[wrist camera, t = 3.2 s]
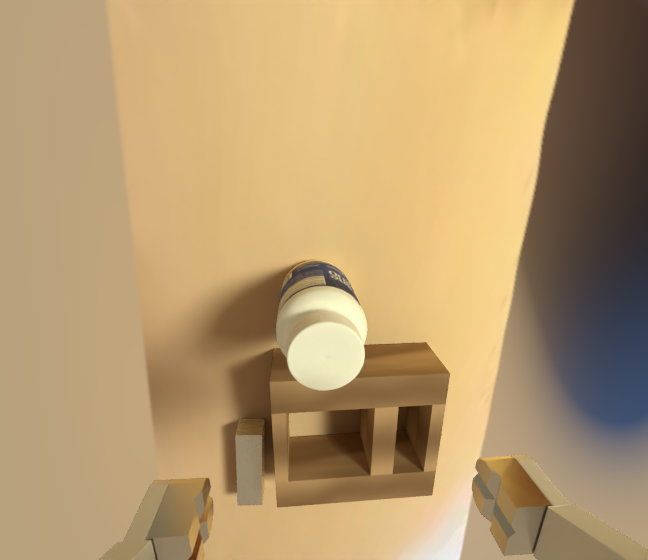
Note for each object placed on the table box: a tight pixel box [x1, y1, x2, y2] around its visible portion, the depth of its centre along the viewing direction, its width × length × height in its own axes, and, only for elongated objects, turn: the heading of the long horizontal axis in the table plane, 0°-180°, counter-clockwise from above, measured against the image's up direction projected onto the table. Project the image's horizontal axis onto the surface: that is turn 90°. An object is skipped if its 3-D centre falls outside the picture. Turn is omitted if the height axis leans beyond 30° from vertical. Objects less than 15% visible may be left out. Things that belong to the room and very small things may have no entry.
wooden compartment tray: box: [269, 343, 450, 507], centre depth 27 cm, size 12×13×4 cm
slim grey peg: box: [235, 419, 264, 505], centre depth 29 cm, size 8×2×2 cm, turn 177°
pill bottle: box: [276, 260, 367, 391], centre depth 21 cm, size 5×5×10 cm
